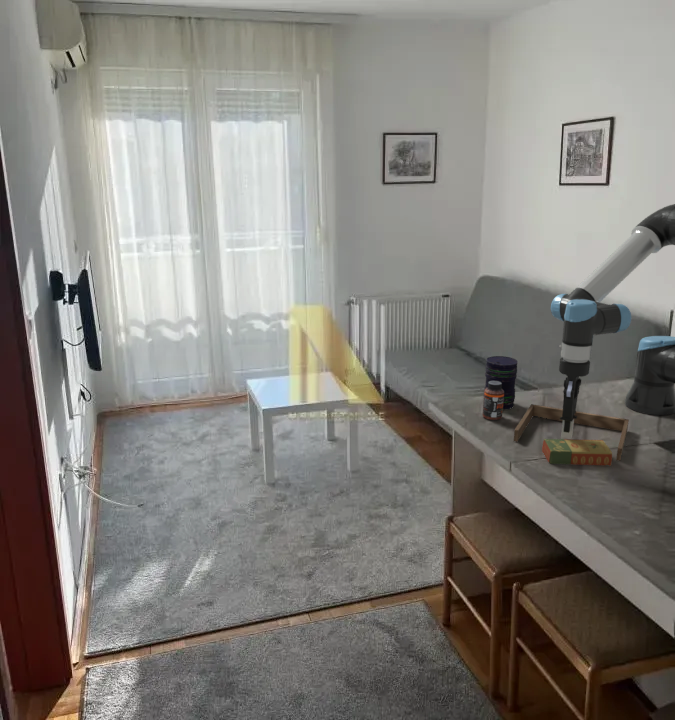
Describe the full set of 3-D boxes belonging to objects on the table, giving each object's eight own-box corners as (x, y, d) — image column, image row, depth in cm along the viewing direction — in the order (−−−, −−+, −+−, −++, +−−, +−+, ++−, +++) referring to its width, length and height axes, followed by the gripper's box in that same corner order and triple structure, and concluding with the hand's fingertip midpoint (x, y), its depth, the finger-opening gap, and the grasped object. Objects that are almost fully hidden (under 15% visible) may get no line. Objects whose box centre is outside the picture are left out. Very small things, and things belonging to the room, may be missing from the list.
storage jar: (491, 397, 225) (495, 354, 221) (519, 403, 219) (523, 359, 215) (477, 405, 218) (480, 361, 213) (505, 412, 212) (509, 367, 207)
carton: (611, 467, 175) (613, 452, 174) (548, 465, 176) (550, 450, 175) (601, 453, 183) (603, 439, 182) (541, 451, 184) (542, 437, 183)
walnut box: (627, 430, 198) (628, 419, 197) (620, 460, 178) (621, 448, 177) (530, 414, 210) (531, 404, 209) (513, 441, 190) (514, 429, 189)
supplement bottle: (498, 422, 204) (501, 386, 200) (479, 418, 207) (482, 383, 203) (504, 416, 209) (507, 381, 205) (485, 412, 212) (488, 378, 208)
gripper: (564, 350, 185) (555, 430, 191) (556, 363, 173) (547, 447, 180) (593, 354, 181) (583, 435, 188) (586, 367, 170) (576, 453, 177)
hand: (565, 441), depth 184 cm, fingers closed
